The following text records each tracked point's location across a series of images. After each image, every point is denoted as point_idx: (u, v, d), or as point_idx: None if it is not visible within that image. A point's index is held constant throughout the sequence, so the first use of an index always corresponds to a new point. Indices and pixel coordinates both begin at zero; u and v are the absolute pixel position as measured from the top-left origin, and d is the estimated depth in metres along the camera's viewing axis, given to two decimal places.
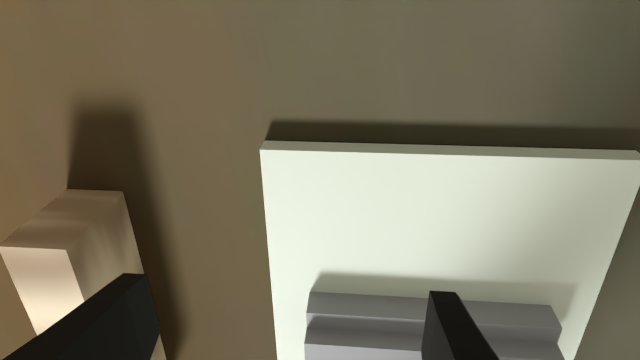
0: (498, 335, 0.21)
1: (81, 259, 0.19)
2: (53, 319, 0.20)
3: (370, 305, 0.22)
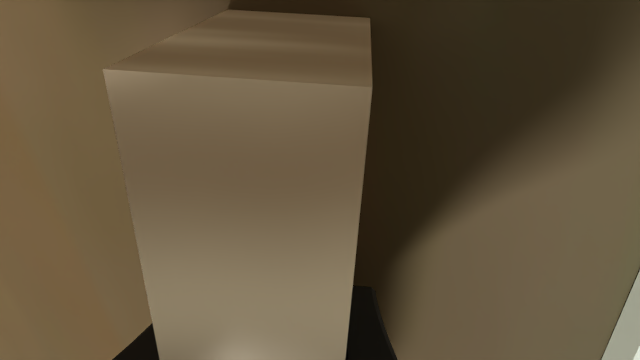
0: None
1: None
2: (226, 337, 0.07)
3: None
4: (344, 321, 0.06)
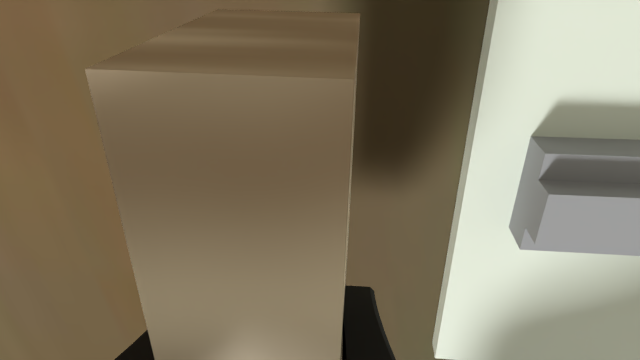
0: None
1: None
2: (220, 337, 0.07)
3: (632, 147, 0.15)
4: (336, 318, 0.06)
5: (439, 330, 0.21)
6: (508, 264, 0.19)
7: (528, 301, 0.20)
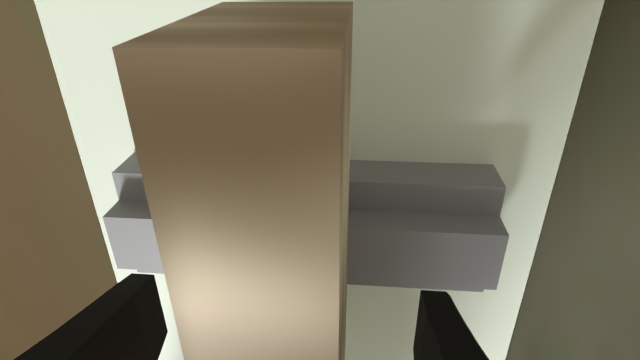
0: (407, 204, 0.13)
1: (343, 110, 0.07)
2: (231, 289, 0.08)
3: None
4: (334, 268, 0.07)
5: None
6: None
7: None
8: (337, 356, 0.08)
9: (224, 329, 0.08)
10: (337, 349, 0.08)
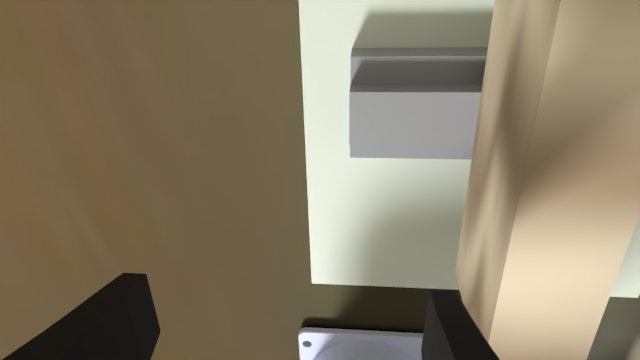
0: None
1: None
2: (601, 69, 0.10)
3: (436, 51, 0.16)
4: None
5: (310, 254, 0.22)
6: (359, 181, 0.20)
7: (385, 219, 0.21)
8: None
9: (578, 111, 0.10)
10: None
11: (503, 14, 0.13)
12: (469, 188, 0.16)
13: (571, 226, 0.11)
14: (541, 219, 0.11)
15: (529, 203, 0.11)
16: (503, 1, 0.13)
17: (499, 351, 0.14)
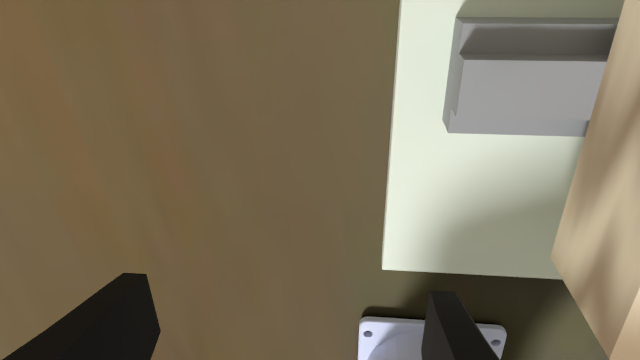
0: None
1: None
2: None
3: (550, 20, 0.15)
4: None
5: (384, 238, 0.21)
6: (445, 161, 0.19)
7: (468, 202, 0.20)
8: None
9: None
10: None
11: None
12: (581, 165, 0.16)
13: None
14: None
15: None
16: None
17: (634, 334, 0.13)
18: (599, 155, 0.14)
